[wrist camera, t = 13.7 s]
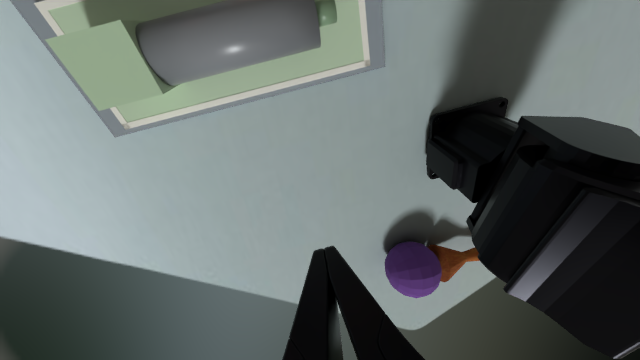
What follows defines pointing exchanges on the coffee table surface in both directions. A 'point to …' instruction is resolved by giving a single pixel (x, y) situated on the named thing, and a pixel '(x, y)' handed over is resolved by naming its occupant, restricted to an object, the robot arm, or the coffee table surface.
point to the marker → (187, 46)
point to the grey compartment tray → (226, 88)
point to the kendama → (423, 267)
